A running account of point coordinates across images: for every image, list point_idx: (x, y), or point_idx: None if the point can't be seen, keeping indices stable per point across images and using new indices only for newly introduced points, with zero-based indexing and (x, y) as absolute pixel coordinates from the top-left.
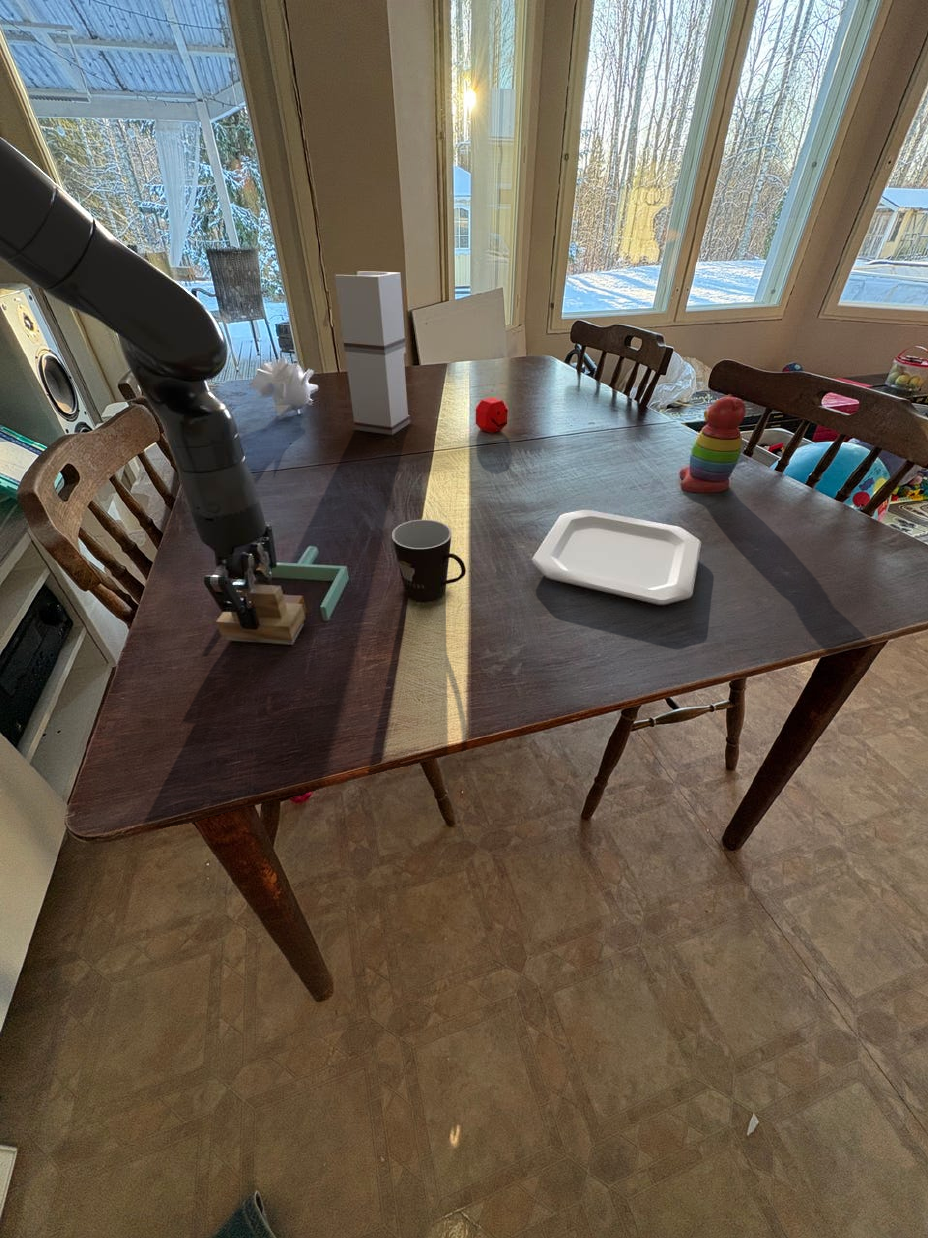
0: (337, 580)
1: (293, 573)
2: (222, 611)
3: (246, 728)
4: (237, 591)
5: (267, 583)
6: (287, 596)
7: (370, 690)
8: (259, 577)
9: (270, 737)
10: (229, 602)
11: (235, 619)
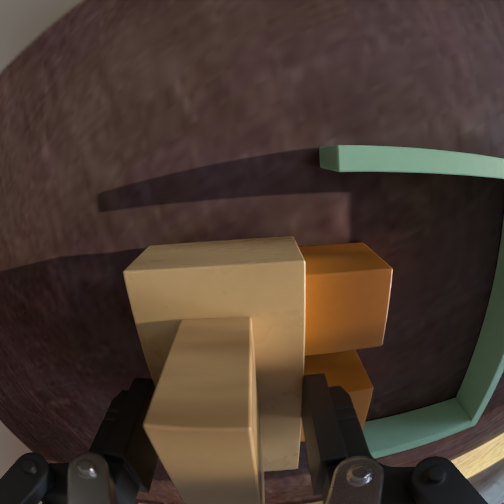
0: (427, 441)
1: (502, 297)
2: (22, 456)
3: (15, 381)
4: (171, 477)
5: (314, 485)
6: (361, 404)
7: (152, 493)
8: (327, 493)
9: (26, 411)
10: (45, 499)
11: (161, 344)
